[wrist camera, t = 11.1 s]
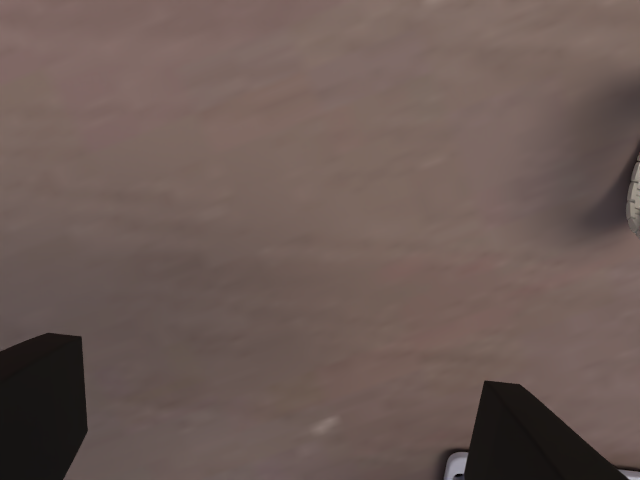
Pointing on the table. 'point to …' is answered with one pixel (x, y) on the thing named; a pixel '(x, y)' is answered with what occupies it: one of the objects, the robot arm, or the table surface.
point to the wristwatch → (634, 201)
